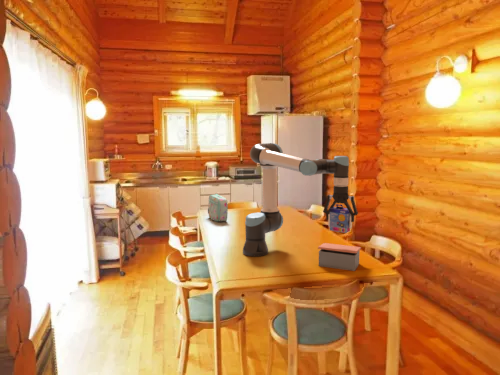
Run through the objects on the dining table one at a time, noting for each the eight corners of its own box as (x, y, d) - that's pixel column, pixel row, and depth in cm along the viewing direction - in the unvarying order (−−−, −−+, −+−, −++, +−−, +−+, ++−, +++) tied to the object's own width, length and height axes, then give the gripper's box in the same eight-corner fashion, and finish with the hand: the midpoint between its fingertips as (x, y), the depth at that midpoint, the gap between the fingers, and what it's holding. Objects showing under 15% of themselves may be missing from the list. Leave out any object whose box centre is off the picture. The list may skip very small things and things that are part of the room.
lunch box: (206, 217, 329) (206, 193, 326) (217, 216, 334) (217, 192, 331) (217, 223, 305) (216, 197, 302) (229, 222, 309) (228, 196, 307)
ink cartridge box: (328, 230, 203) (329, 203, 201) (333, 228, 207) (334, 202, 205) (346, 233, 197) (346, 205, 195) (350, 231, 201) (351, 204, 199)
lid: (318, 248, 202) (318, 246, 202) (324, 244, 213) (324, 242, 213) (356, 253, 193) (356, 251, 193) (360, 249, 205) (360, 247, 205)
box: (318, 265, 203) (318, 251, 202) (324, 259, 214) (324, 245, 213) (354, 271, 195) (355, 255, 194) (359, 264, 206) (359, 249, 204)
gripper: (317, 185, 200) (316, 226, 203) (362, 187, 190) (361, 230, 193) (321, 183, 207) (320, 223, 210) (364, 185, 197) (363, 227, 200)
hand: (339, 226), depth 202 cm, fingers closed on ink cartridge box, 10 cm apart
